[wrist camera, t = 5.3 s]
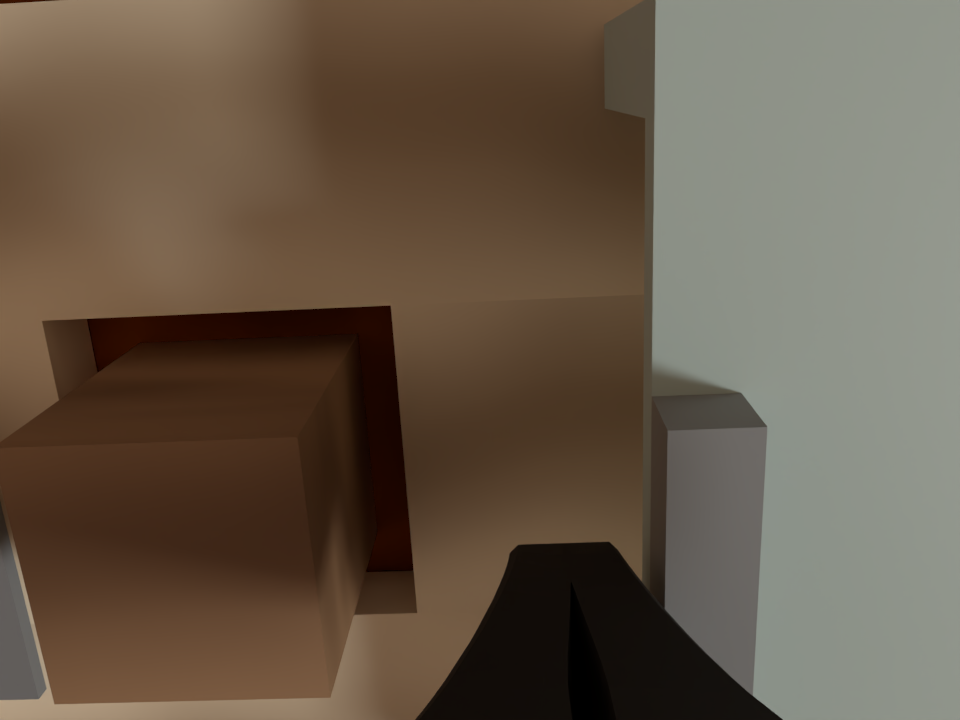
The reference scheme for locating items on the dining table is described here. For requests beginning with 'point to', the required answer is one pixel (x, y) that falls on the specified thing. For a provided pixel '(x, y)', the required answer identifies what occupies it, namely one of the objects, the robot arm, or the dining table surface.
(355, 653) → the puzzle board
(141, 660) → the walnut block
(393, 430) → the dining table surface
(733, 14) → the sled cover
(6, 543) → the slate pad
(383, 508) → the dining table surface
